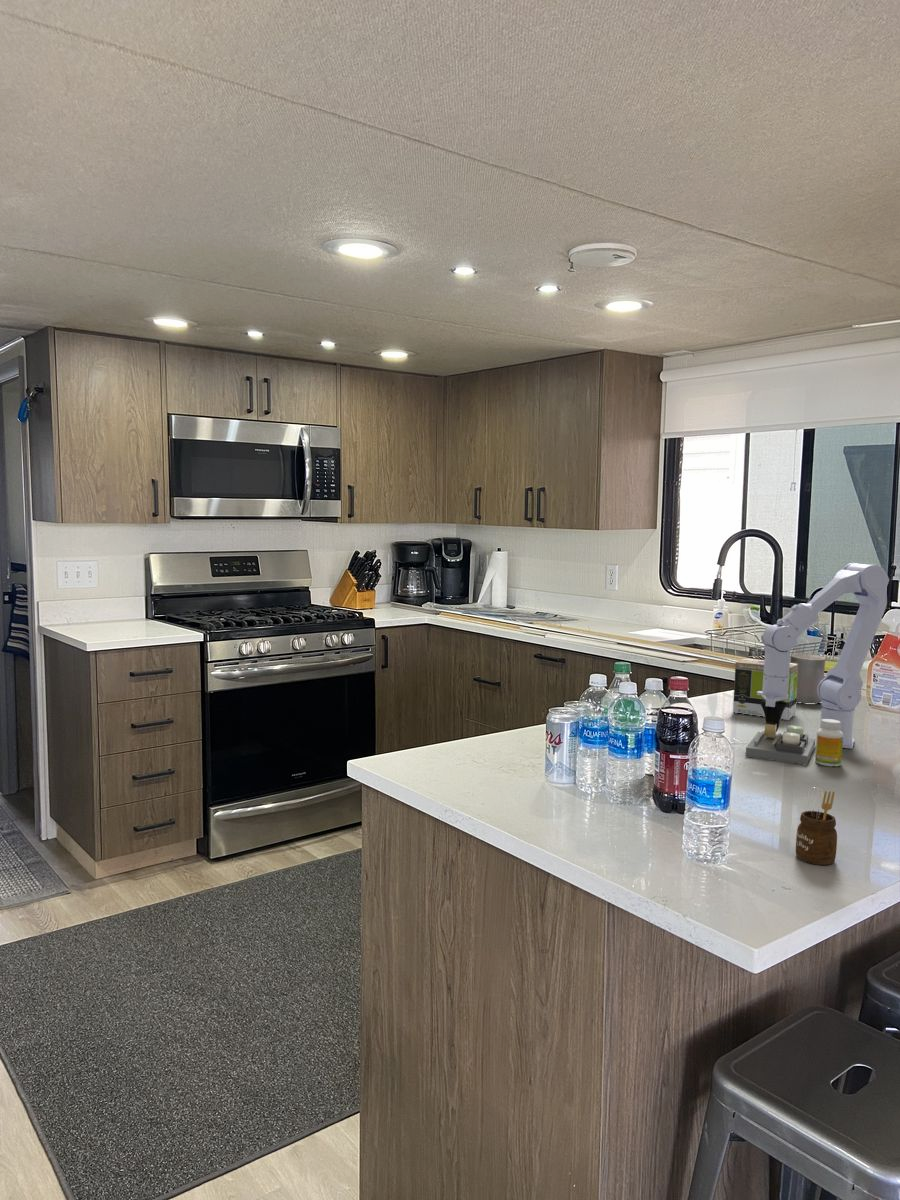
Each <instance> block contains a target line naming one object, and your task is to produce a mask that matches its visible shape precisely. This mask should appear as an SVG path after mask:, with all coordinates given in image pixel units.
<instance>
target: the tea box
mask: <svg viewBox="0 0 900 1200" xmlns="http://www.w3.org/2000/svg"><path fill="white" fill-rule="evenodd" d="M764 660H765V659H764ZM764 660H763V659H755V658H753V659H752V658H743V659H742V658H741V659H740V660H737V661H735V666H734V687H733V703H732V704H733V708H732V713H733V712H735V713H734V714H737V713H743V714H742V715H744V714H751V715H750V716H752V715H757V716H756V717H760V716H763V717H762V718H765V714H764V711H763V708H762V706H761V701H763V700H766V699H764V698H763V697H762V696H761V695H757V692H758V691H762V689H763V675H764ZM797 681H798V664H797V663H791V662H790V667H789V681H788V699H784V700H780V701H785V702H787V705H786V707H785V709H784V711H783V713H782V716H781V720H782V719H783V720H785V721H789V720H791V719H792V718H793V717H795V716H796V710H797V703H796V701H797ZM794 715H795V716H794ZM792 716H793V717H792ZM791 717H792V718H791ZM790 718H791V719H790Z"/></svg>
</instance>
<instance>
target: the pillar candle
mask: <svg viewBox="0 0 900 1200" xmlns="http://www.w3.org/2000/svg"><path fill="white" fill-rule="evenodd" d="M826 659H827V658H826V657H824V656H821V655H817V654H810V653H809V652H808V651H807V654H806V653H793V654H790V663H797V664H798V681H797V701H796V702H801V703H820V702H822V700H821V699H820V697H819V696H818V693H817V688H818V685H819V683H820V682H821V681H822V680H823V679H824V678H825V666H826ZM820 704H821V703H820Z"/></svg>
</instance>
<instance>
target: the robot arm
mask: <svg viewBox="0 0 900 1200" xmlns="http://www.w3.org/2000/svg"><path fill="white" fill-rule="evenodd" d="M889 581H890V578H889V576H888V575H887V573H886V570H885V569H884V568H883V567H882V566H880V565H878V564H863V563H857V562H850V563H847V564H846V565H845V566H844V567H843V568H842V569H840V570H838V571H837V572H836V574H835V575H834V577H833V579H831V580H830V581H829V582H828V583H827V584H826V585H825V586H824V587H823V588H822V589H820V591H818V593H816V595H815V596H814V597H812V599H810V600H809V601H808V602H807V603H802V602H801V603H798V604H794V605H793V606H791V607H790V609H791V610H790V611H789V612H788V613H786V615H785V616H783V617H782V618H778V619H777V621H776V624H773V625H772V624H771V625H768V626H767V627H766V628H765V630H764V631H763V633H762V634H761V635H760V640H761V643H762V644H763V645H764V675H763V689H762V691H758V692H757V695H761V696H762V697H763V698H764V699H766V700H763V701H761V706H762V708H763V711H764V714H765V717H764V718H765V723H774V724H777V726H776V733H777V732H778V729H779V727H780V723H781V720H782V719H781V716H782V713H783V711H784V709H785V707H786V705H787V702H785V701H780V700H784V699H788V681H789V667H790V663H791V651H792V650H791V649H793V648H795V646H796V644H797V641H798V639H799V638H800V637H801V636H802V635H803V634H804V633H806V632H807V630H809V629H810V628H811V627H812V626H813V625H815V624H816V623H817V622H818V617H819V614H820V613H821V612H822V611H824V610H825V609H826V608H828V607H829V606H830V605H831V604H833V603H834V602H835V601H837V600H838V599H840V597H842V596H843V595H845V594H852V595H854V596H855V599H856V600H857V602H858V604H859V608H858V610H857V611H856V615H855V617H854V620H853V622H852V625H851V627H850V630H849V633H848V634H847V637H846V640H845V643H844V645H843V647H842V650H841V651H840V652H841V653H840V655H839V657H838V660H837V662H836V664H835V665H834V666H833V667H832V668H830V669H829V670H827V672H826V675H824V679H823V680H822V681H821V682H820V683H819V685H818V688H817V693H818V696H819V697H820V699H821V700H822V703H821V711H820V712H821V713H820V721H821V720H822V719H833V720H838V721H840V722H841V725H840V728H839V730H840V731H841V732H842V733H843V747H842V749H843V748H844V749H848V750H849V749H851V750H852V749H853V747H854V744H855V739H854V738H853V730H854V729H853V726H854V717H855V716H854V715H855V711H856V708H857V707H858V706H859V704H860V702H861V701H862V689H863V685H864V682H863V678H862V676H861V675H860V674H861V671H862V668H863V665H864V663H865V661H866V659H867V656H868V653H869V651H870V649H871V646H872V643H873V640H874V639H875V636H876V633H877V631H878V628H879V625H880V623H881V621H882V618H883V616H884V613H885V611H886V608H887V605H888V594H887V591H888V590H887V587H888V584H889V583H890V582H889ZM819 724H820V726H819V729H821V728H822V726H821V723H819Z"/></svg>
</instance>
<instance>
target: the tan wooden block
mask: <svg viewBox="0 0 900 1200" xmlns="http://www.w3.org/2000/svg"><path fill="white" fill-rule="evenodd" d="M776 726H777V724H774V723H766V722H765V723H764V730H763V731H764V736H765V737H772V738H775V737H776V734H777V732H776Z"/></svg>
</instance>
